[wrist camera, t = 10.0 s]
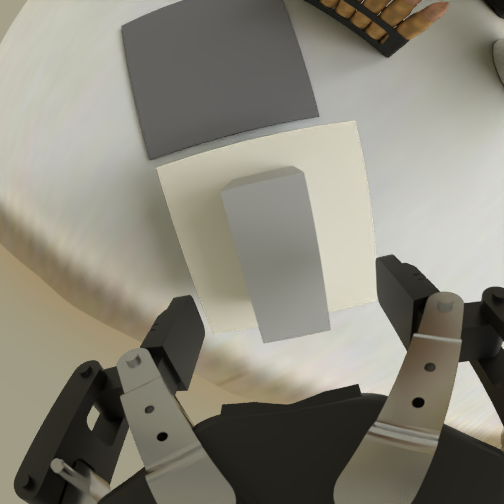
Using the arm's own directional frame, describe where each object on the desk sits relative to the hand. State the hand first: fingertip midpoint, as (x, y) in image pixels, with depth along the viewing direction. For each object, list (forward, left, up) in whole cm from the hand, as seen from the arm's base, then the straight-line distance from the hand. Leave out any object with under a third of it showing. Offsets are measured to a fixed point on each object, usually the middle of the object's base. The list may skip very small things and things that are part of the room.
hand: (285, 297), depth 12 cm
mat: (+2, -16, -15) cm, 22 cm away
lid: (0, 0, -9) cm, 9 cm away
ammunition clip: (-12, -18, -16) cm, 27 cm away
